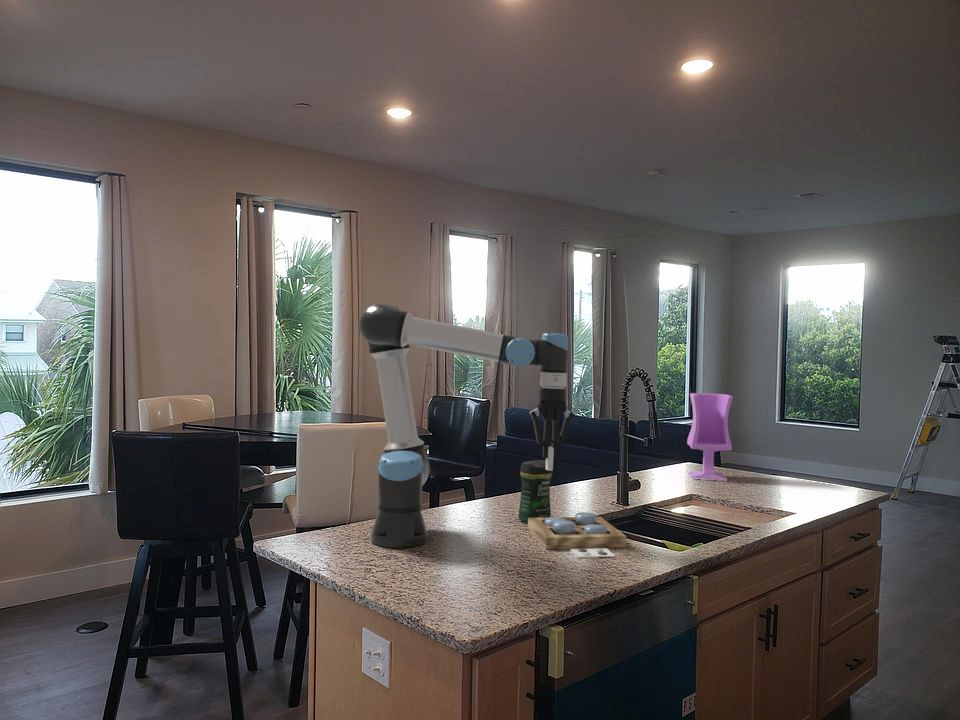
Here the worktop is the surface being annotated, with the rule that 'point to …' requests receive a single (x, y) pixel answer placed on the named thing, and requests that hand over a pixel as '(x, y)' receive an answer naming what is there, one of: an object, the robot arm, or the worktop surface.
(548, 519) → the button
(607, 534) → the board
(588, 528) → the button
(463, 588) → the worktop surface
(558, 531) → the button
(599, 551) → the card
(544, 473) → the coffee jar
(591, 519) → the button
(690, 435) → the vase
